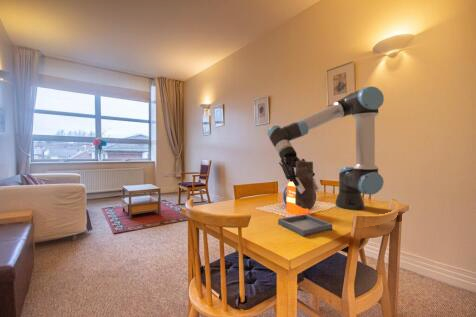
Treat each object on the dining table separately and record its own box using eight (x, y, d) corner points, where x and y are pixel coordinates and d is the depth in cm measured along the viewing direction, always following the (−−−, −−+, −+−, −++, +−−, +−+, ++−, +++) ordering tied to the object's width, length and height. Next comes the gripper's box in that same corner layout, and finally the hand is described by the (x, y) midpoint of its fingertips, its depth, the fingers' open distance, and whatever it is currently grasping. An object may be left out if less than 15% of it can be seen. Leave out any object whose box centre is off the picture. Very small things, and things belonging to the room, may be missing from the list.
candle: (291, 206, 98) (292, 160, 97) (301, 203, 103) (302, 160, 102) (306, 210, 92) (308, 161, 91) (316, 207, 97) (317, 161, 96)
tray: (305, 219, 109) (305, 213, 108) (332, 229, 94) (332, 224, 94) (278, 224, 101) (278, 218, 101) (303, 236, 87) (303, 230, 87)
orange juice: (308, 212, 119) (309, 175, 118) (298, 216, 113) (298, 176, 112) (296, 209, 125) (296, 173, 124) (286, 212, 120) (286, 175, 119)
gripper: (298, 156, 115) (322, 194, 101) (265, 156, 105) (286, 198, 92) (306, 146, 109) (332, 184, 96) (272, 145, 100) (295, 187, 87)
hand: (309, 191), depth 94 cm, fingers closed on candle, 7 cm apart
